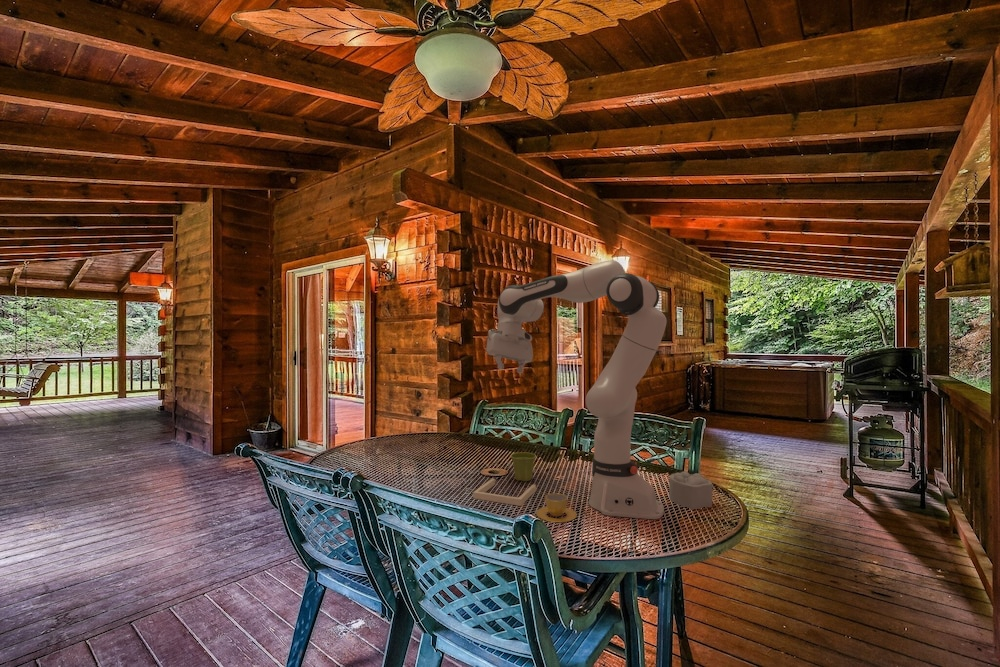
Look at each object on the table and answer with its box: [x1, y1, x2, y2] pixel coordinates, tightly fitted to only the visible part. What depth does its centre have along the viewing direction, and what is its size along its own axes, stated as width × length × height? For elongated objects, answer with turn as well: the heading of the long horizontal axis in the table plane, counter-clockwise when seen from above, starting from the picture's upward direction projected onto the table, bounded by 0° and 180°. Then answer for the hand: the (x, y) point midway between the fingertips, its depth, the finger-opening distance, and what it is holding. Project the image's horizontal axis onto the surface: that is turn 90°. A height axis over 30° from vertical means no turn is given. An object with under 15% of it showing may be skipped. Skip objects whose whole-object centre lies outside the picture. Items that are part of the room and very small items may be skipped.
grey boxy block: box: [668, 470, 713, 510], centre depth 148 cm, size 10×13×9 cm
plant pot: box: [510, 451, 537, 482], centre depth 170 cm, size 9×9×9 cm
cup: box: [535, 492, 578, 523], centre depth 137 cm, size 12×12×5 cm
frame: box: [472, 478, 537, 507], centre depth 153 cm, size 16×15×2 cm
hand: (510, 370), depth 164 cm, fingers open, 8 cm apart
